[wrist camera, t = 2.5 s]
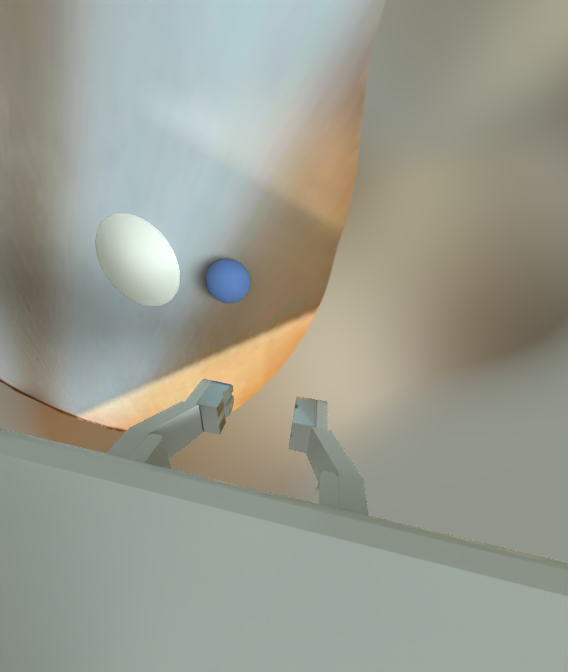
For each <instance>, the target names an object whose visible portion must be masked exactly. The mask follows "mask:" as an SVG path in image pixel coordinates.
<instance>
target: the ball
mask: <svg viewBox="0 0 568 672" xmlns="http://www.w3.org/2000/svg"><path fill="white" fill-rule="evenodd" d="M206 285H207V288H208V290H209V292H210V293H211V295H212V296H213V297H214V298H216V299H217V300H219V301H221V302H224V303H234V302H237V301H240V300H241V299H243V298H244V297H245V296H246V294H247V293H248V291H249V288H250V277H249V274H248V271H247V270H246V268H245V267H244V266H243V265H242V264H241V263H239V262H238V261H235V260H233V259H221V260H218V261H216V262H215V263H213V264H212V265H211V266H210V267H209V269H208V271H207V274H206Z"/></svg>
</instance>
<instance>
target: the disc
mask: <svg viewBox="0 0 568 672" xmlns="http://www.w3.org/2000/svg"><path fill="white" fill-rule="evenodd" d="M95 244H96V252H97V256H98V260H99V262H100V265H101V267H102V269H103V271H104V273H105V275H106V276H107V278H108V279H109V280H110V282H111V283H112V284H113V285H114V286H115V287H116V288H117V289H118V290H119V291H120V292H121V293H122V294H123V295H125V296H126V297H127V298H129V299H131V300H132V301H134V302H137V303H139V304H142V305H146V306H160V305H163V304H166V303H167V302H169V301H170V300H171V299H173V298H174V296H175V295H176V293H177V291H178V288H179V285H180V268H179V264H178V261H177V258H176V255H175V253H174V251H173V249H172V247H171V245H170V244H169V242H168V241H167V239H166V238H165V237H164V236H163V235H162V233H161V232H160V231H159V230H158V229H157V228H155V227H154V226H153V225H152V224H150V223H149V222H147V221H146V220H144V219H142V218H140V217H138V216H135V215H132V214H122V213H119V214H114V215H111V216H109V217H107V218H106V219H105V220H104V221H103V222H102V223H101V224H100V226H99V228H98V230H97V233H96V240H95Z"/></svg>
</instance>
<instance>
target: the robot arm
mask: <svg viewBox="0 0 568 672" xmlns="http://www.w3.org/2000/svg"><path fill="white" fill-rule="evenodd" d="M232 392H233V385H231V384H226V383H222V382H217V381H211V380H206V379H203V380H202V381H201V382H200V383H199V384H198V386H197V387H196V388H195V389H194V391H193V392H192V393H191V395H190V396H189V397H188V399H187V400H186V401H185V402H180V403H178V404H176V405H174V406H172V407H170V408H168V409H166V410H164V411H162V412H160V413H158V414H156V415H154V416H152V417H150V418H148V419H146V420H144V421H142V422H140V423H138V424H136V425H134V426H132V427H130V428H129V429H128V430H127V431H126V433H125V434H124V435H123V436H122V437H121V438H120V439H119V440H118V441H117V442H116V443H115V444H114V445H113V446H112V447H111V449H110V450H109V451H108V452H107V453H106V454H105V453H101V452H97V451H92V450H88V449H84V448H80V447H76V446H71V445H67V444H63V443H59V442H55V441H50V440H46V439H42V438H38V437H34V436H29V435H25V434H21V433H17V432H13V431H8V430H4V429H0V672H568V563H567V562H563V561H559V560H555V559H550V558H546V557H542V556H537V555H533V554H529V553H525V552H520V551H516V550H512V549H508V548H504V547H499V546H495V545H491V544H487V543H482V542H478V541H474V540H470V539H466V538H461V537H457V536H453V535H449V534H444V533H440V532H436V531H431V530H427V529H423V528H419V527H414V526H410V525H406V524H402V523H397V522H393V521H389V520H385V519H381V518H376V517H372V516H368V509H367V501H366V495H365V487H364V480H363V477H362V476H361V474H360V473H359V472H358V470H357V468H356V467H355V465H354V464H353V462H352V461H351V459H350V458H349V456H348V455H347V453H346V452H345V451H344V449H343V447H342V446H341V445H340V443H339V442H338V440H337V439H336V437H335V436H334V434H333V433H332V431H330V430H328V402H327V401H321V400H315V399H310V398H304V397H297V398H296V404H295V410H294V415H293V421H292V428H291V435H290V442H289V449H291V450H295V451H299V452H304V453H307V457H308V459H309V461H310V464H311V466H312V468H313V471H314V473H315V475H316V478H317V480H318V484H317V487H316V491H315V494H314V498H313V501H312V502H309V501H304V500H300V499H296V498H292V497H288V496H283V495H279V494H274V493H271V492H267V491H262V490H258V489H254V488H250V487H245V486H241V485H237V484H233V483H228V482H224V481H220V480H215V479H211V478H207V477H203V476H199V475H194V474H190V473H186V472H182V471H177V470H173V469H172V467H171V464H170V461H169V458H171V457H172V456H173V455H175V454H176V453H177V452H179V451H180V450H181V449H182V448H184V447H185V446H186V445H188V444H189V443H190V442H191V441H193V440H194V439H195V438H197V437H198V436H199V435H201V434H202V433H203V431H204V432H210V433H215V434H221V431H222V429H223V427H224V425H225V423H226V419H225V418H226V417H228V416H229V415H230V413H231V411H232V408H233V403H234V397H233V396H232Z"/></svg>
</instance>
